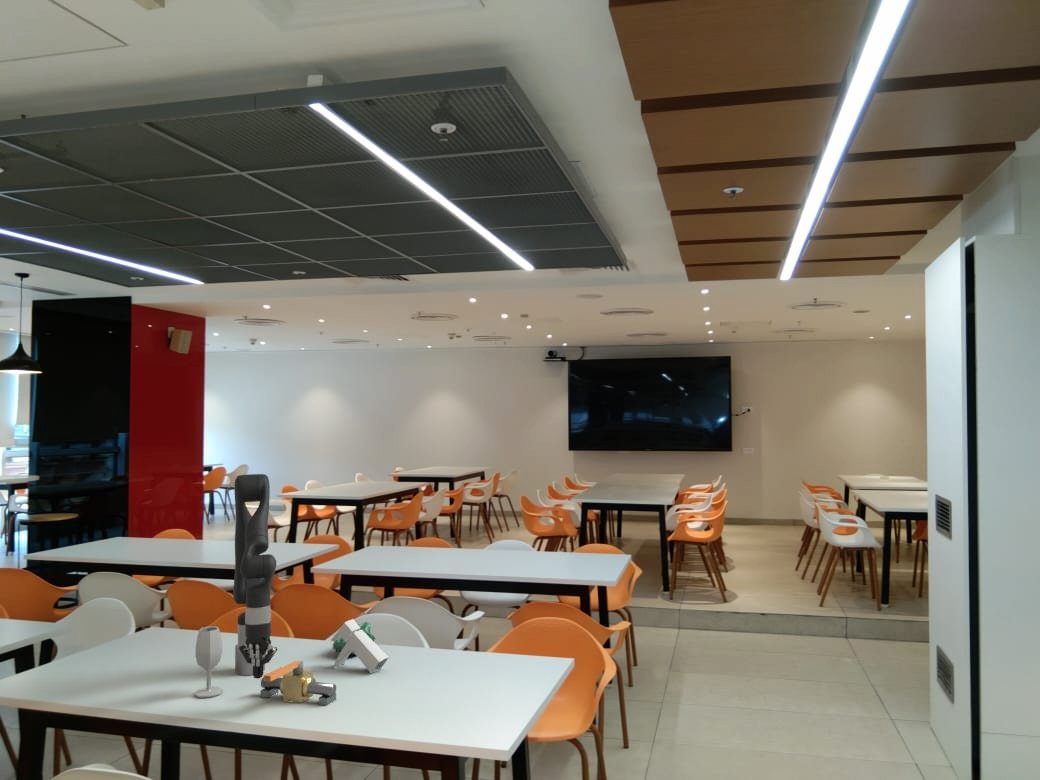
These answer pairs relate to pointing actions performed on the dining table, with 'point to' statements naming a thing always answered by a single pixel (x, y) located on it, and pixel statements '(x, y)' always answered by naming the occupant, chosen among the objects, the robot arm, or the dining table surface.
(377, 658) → the faucet
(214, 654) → the wineglass
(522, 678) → the dining table surface
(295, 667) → the lever
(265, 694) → the valve
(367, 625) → the mineral
